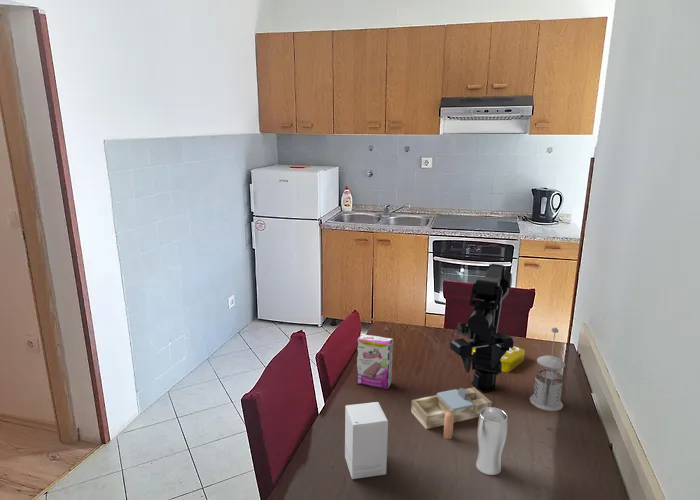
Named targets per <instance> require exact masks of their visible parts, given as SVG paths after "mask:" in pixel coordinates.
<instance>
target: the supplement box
mask: <svg viewBox="0 0 700 500" xmlns="http://www.w3.org/2000/svg"><path fill="white" fill-rule="evenodd" d="M344 414H345V418H344V419H345V421H344V422H345V423H344V424H345V425H344V426H345V427H344V431H345V432H344V458H345V461H346V465H347V468H348V470H349V473H350V474H349V475H350V477H351V479H352V480H356V479H363V478H371V477H376V476H385V475H387V461H388V458H387V457H388V436H389V434H388V433H389V420H388V419H387V416H386V414H385V412H384V411H383V409H382V407H381V404H380V402H379V401H376V402H374V401H373V402H367V403H366V402H365V403H355V404H346V405H345V410H344Z"/></svg>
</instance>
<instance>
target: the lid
mask: <svg viewBox="0 0 700 500" xmlns="http://www.w3.org/2000/svg"><path fill="white" fill-rule="evenodd" d="M464 389H465V388H463V387H460V388H458V389H456V388H454V389H449V390H444V391H439V392H437V393H436V395H438V396H439V397H440V398H441V399H442V400H443V401H444V402H445V403H446V404H447V405H448V406H449V407H450V408H451V409H452V410H453V411H454V410H458V409H463V408H467V407H472V406H473V403H472V402H470V401H469V400H468V393H467V392H466V391H465V390H464ZM458 390H459V391H458Z"/></svg>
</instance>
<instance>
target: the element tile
mask: <svg viewBox="0 0 700 500" xmlns="http://www.w3.org/2000/svg"><path fill="white" fill-rule="evenodd" d="M475 350H476V348H472V353H471V354H472V355H473V352H475ZM525 352H526V351H525V349H524V348H522V347H519V346H515V345H514V346H513V348H509V351H507V352H506V353H505V354H504V355H503V356H502V358H501V359H500V360H501V362H502V371H501V372H504V373H509V372H511V371H512V370H514V369H515V368H517V367H518V366H519V365H520V364H522V363H523V362H524V360H525Z"/></svg>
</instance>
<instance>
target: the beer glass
mask: <svg viewBox="0 0 700 500" xmlns="http://www.w3.org/2000/svg"><path fill="white" fill-rule="evenodd" d="M508 419H509V418H508V414H507V412H505V411H504V410H503V409H501V408H497V407H494V406H491V407H485V408H482V409H481V410H480V414H479V417H478V422H477V429H476V431H477V433H476V435H477V444H478V455H477V459H476V462H475V463H476V464H475V465H476V469H478V471H480V472H481V473H482V474H484V475H487V476H496V475H499V474H500V473H501V471H502V461H501V458H502V454H503V453H502V452H503V449H504V447H505V443H506V439H507V434H508Z"/></svg>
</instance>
